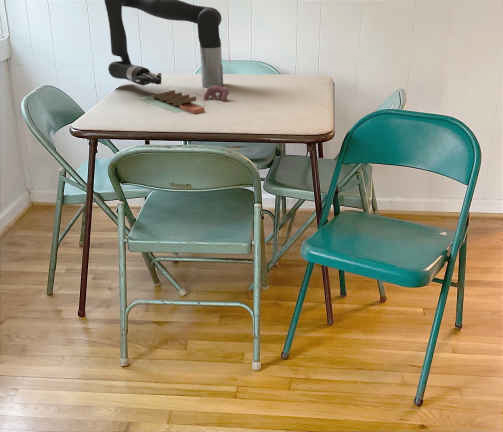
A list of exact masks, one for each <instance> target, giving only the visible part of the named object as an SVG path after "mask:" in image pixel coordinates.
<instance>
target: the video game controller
mask: <svg viewBox="0 0 503 432" xmlns="http://www.w3.org/2000/svg"><path fill="white" fill-rule="evenodd" d="M217 94H218V95H217ZM229 94H230V91H229V89H228V88H227V87H225V86H217V85H215V86H210V87H207V89H206V90H205V92H204V95H203V101H207V100H208V99H209V98H211V99H212V100H216V99H218V100H221V102H222V103H223V102H226V101H227V98H228V96H229Z"/></svg>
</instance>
